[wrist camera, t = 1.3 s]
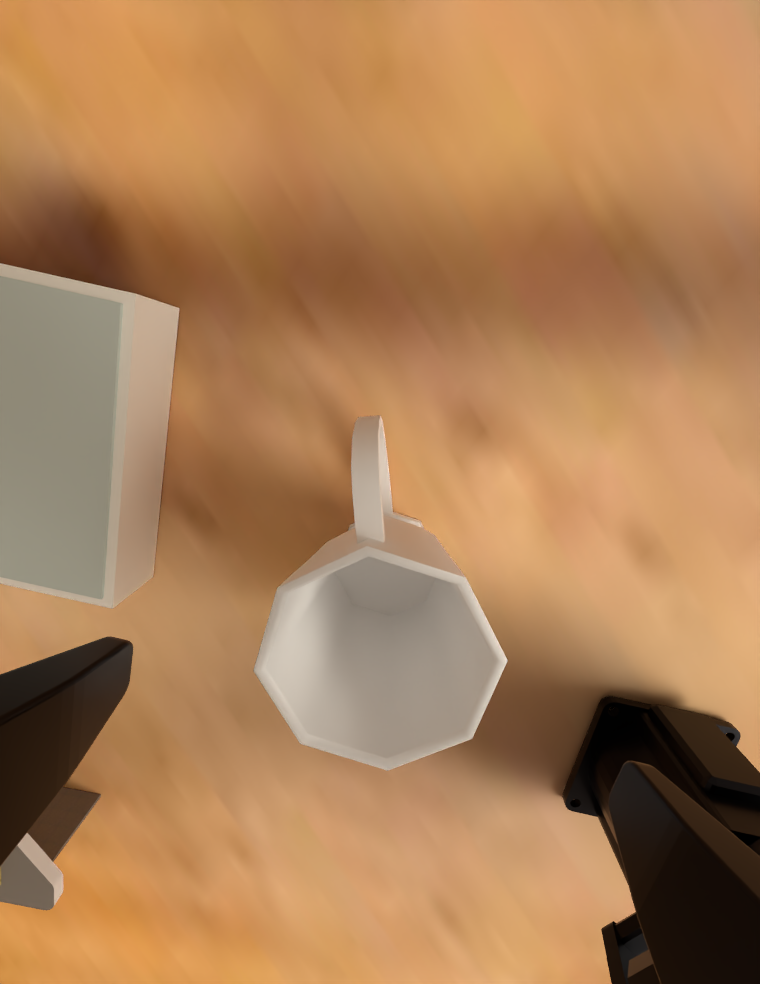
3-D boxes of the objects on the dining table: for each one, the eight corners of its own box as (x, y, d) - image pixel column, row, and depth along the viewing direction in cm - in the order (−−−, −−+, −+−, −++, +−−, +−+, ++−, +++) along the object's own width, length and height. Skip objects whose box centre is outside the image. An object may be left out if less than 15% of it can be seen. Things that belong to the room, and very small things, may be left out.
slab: (153, 576, 21) (110, 610, 18) (-56, 530, 21) (-136, 555, 18) (179, 308, 18) (133, 292, 15) (-65, 253, 18) (-162, 226, 15)
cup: (319, 629, 21) (270, 775, 13) (292, 416, 19) (212, 440, 11) (469, 622, 21) (509, 770, 13) (461, 402, 18) (505, 418, 10)
